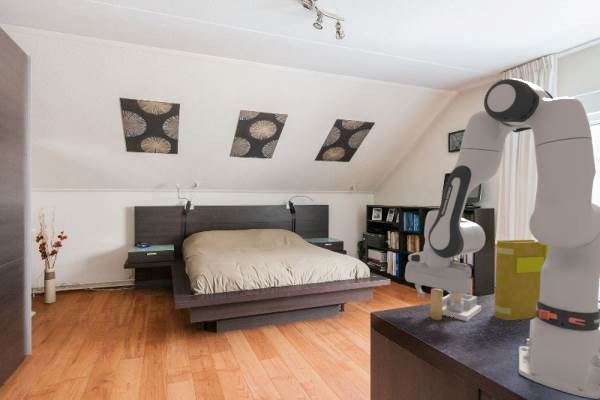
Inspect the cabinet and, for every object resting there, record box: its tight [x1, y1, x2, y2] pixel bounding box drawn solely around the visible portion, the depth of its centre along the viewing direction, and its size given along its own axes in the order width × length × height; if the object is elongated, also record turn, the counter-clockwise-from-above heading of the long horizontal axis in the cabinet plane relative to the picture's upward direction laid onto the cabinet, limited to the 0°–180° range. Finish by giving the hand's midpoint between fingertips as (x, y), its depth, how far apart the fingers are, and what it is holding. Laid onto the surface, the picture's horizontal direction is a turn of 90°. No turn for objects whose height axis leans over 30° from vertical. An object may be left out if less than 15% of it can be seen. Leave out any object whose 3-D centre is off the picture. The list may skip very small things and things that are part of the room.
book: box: [493, 238, 549, 321], centre depth 117 cm, size 17×7×25 cm, turn 108°
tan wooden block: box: [429, 288, 444, 321], centre depth 112 cm, size 4×4×9 cm
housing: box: [442, 291, 482, 322], centre depth 119 cm, size 15×10×10 cm, turn 137°
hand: (435, 301), depth 113 cm, fingers open, 8 cm apart
